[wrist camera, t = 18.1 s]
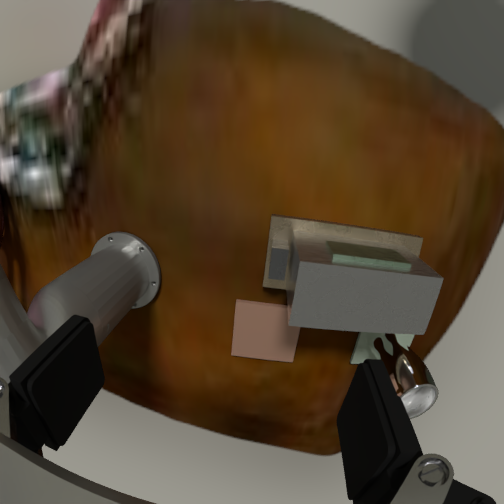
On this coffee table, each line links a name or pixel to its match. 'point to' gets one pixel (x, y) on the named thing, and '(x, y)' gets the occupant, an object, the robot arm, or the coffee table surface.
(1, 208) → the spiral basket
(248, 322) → the terracotta pad
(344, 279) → the grey unit
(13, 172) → the coffee table surface
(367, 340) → the sage pad
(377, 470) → the robot arm
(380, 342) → the chrome vase
